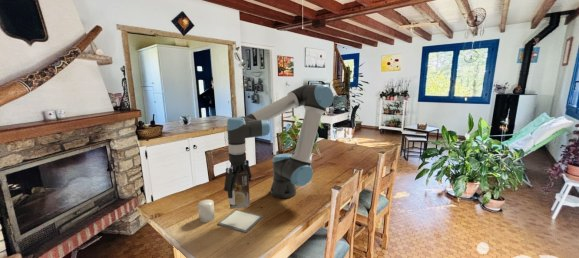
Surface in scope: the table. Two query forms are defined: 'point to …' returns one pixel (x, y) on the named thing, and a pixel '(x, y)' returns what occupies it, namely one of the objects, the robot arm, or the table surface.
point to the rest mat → (240, 220)
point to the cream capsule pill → (206, 211)
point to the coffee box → (241, 190)
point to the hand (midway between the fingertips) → (239, 198)
